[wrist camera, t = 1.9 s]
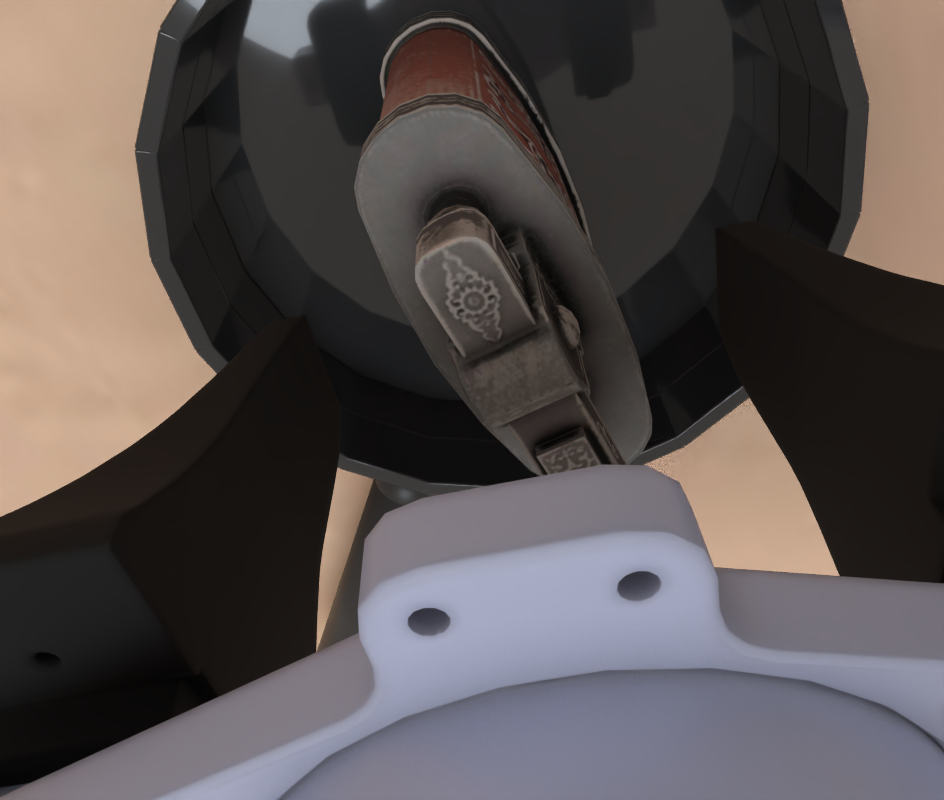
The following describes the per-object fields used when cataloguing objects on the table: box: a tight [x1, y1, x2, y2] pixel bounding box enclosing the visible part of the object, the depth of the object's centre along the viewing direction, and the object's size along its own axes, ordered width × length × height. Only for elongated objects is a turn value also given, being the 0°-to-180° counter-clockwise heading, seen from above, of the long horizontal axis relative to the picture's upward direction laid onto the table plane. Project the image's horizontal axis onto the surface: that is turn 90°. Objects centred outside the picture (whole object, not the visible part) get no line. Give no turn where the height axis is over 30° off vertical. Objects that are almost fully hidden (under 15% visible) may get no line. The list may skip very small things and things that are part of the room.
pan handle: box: [317, 479, 436, 652], centre depth 24 cm, size 11×2×2 cm, turn 162°
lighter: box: [354, 11, 652, 476], centre depth 16 cm, size 8×3×10 cm, turn 28°
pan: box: [135, 0, 869, 495], centre depth 19 cm, size 15×15×4 cm
